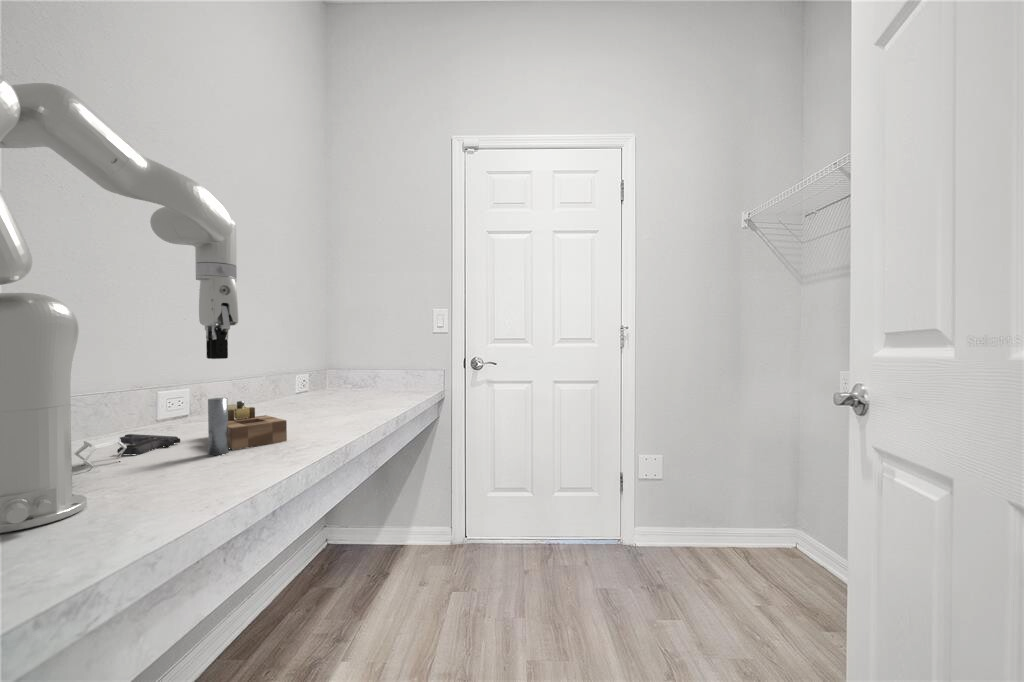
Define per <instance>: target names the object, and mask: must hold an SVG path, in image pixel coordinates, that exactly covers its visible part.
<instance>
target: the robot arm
mask: <svg viewBox="0 0 1024 682" xmlns="http://www.w3.org/2000/svg"><path fill="white" fill-rule="evenodd" d="M43 147H45V148H49V149H50V150H52V151H53V152H54V153H56V154H57V155H58V156H60V157H61V158H62V159H64V160H65V161H67V162H68V163H69V164H71V166H73V167H75V168H76V169H77V170H79V172H81V173H83V174H84V175H86V177H88V178H89V179H90V180H92V181H93V182H94V183H96V185H98V186H99V187H100V188H102V189H104V190H106V191H107V192H109V193H110V192H111V193H113V194H117V195H119V196H123V197H125V198H129V199H133V200H140V201H145V202H147V203H153V204H156V205H160V206H163V207H160V208H157V209H155V211H154V212H153V213H152V214H151V217H150V221H149V222H150V228H151V230H152V231H153V233H154V234H155V235H156V236H157V237H158V238H159V239H161V240H162V241H164V242H166V243H169V244H172V245H180V246H181V245H182V246H193V247H194V248H195V249H194V250H195V251H194V252H195V255H194V256H195V258H194V259H195V262H194V263H195V280H196V281H200V282H199V292H198V293H199V294H198V297H199V298H198V322H199V323H200V325H202V326H204V331H205V339H206V340H205V341H206V346H205V347H206V359H211V360H217V359H218V360H219V359H220V360H223V359H228V358H229V348H228V346H229V343H228V342H229V341H228V340H229V331H230V329H231V326H236V325H238V323H239V305H238V291H237V287H236V282H238V281H237V280H238V279H237V275H238V273H237V271H238V268H237V224H236V222H235V221H234V220H233V219H232V217H231V216H230V213H229V212H228V211H227V209H226V208H225V207H224V206H223V204H222V203H221V202H220V201H219V200H218V199H217V198H216V197H215V196H214V195H213V194H212V193H211V192H210V191H208V189H206V188H205V187H204V186H203V185H201V184H200V183H198V182H197V181H195V180H194V179H192V178H190V177H188V176H186V175H184V174H182V173H180V172H178V171H176V170H173V169H172V168H169V167H168V166H166V165H164V164H161V163H159V162H157V161H155V160H152V159H150V158H148V157H146V156H145V155H144V154H142V153H141V152H139V151H138V150H137V149H136V148H135V147H134V146H133V145H132V144H131V143H130V142H129V141H127V140H126V139H125V138H124V137H123V136H122V135H120V133H119V132H117V130H115V129H114V128H113V127H112V126H111V125H110V124H108V122H107V121H105V119H103V117H102V116H100V115H99V114H98V113H97V112H96V111H95V110H93V109H92V108H91V107H90V106H89V105H88V104H87V103H85V101H83V99H81V98H80V97H79V96H77V95H76V94H75V93H74V92H72V91H71V90H69V89H67V88H65V87H63V86H60V85H59V84H58V85H57V84H53V83H48V82H31V83H20V84H18V83H17V84H11V83H10V82H9V81H8V80H7V79H6V78H5V77H4V76H3V75H1V74H0V149H32V148H43ZM32 267H33V256H32V253H31V251H30V248H29V246H28V243H27V241H26V239H25V236H24V235H23V233H22V231H21V229H20V226H19V224H18V223H17V220H16V218H15V216H14V214H13V212H12V210H11V207H10V205H9V203H8V201H7V200H6V197H5V195H4V193H3V190H2V188H1V187H0V286H3V285H9V284H13V283H15V282H18V281H20V280H22V279H24V278H25V277H26V276H27V275H28V274H30V272H31V270H32ZM79 329H80V328H79V322H78V319H77V317H76V315H75V313H74V311H72V309H71V308H70V307H69V306H68V305H66V304H65V303H64V302H62V301H61V300H59V299H57V298H55V297H52V296H49V295H44V294H40V293H33V292H0V534H2V533H3V534H4V533H10V532H14V531H15V532H16V531H21V530H26V529H30V528H35V527H38V526H39V527H40V526H42V525H46V524H50V523H53V522H56V521H60V520H62V519H66V518H68V517H71V516H74V515H75V514H77V513H79V512H81V511H82V510H84V509H85V507H87V505H88V499H87V497H86V496H84V495H82V494H76V493H75V494H74V493H73V465H72V463H73V462H72V461H73V460H72V456H73V455H72V417H71V415H72V410H71V407H72V406H71V405H72V404H71V380H72V376H71V375H72V368H73V367H72V366H73V360H74V357H75V356H74V355H75V351H76V349H77V344H78V339H79V332H80V331H79Z"/></svg>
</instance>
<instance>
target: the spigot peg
mask: <svg viewBox="0 0 1024 682" xmlns="http://www.w3.org/2000/svg"><path fill="white" fill-rule="evenodd" d="M228 401H229V400H228V397H215V398H214V397H213V398H208V399H207V416H208V417H207V419H208V420H207V422H208V425H207V426H208V428H207V430H208V433H207V435H208V456H209V455H220V456H223V455H222V454H225V455H227V454H226V453H228V454H229V449H228V405H229V402H228Z"/></svg>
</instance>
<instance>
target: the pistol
mask: <svg viewBox="0 0 1024 682" xmlns="http://www.w3.org/2000/svg"><path fill="white" fill-rule="evenodd" d="M119 438H120V439H121V441H124V442H123V443H129V442H131V443H129V444H126V445H125V446H126V447H127V448H126V449H125V451H124V452H123V453H122V454H138V455H141V454H144V453H147V452H150V451H153V450H155V448H157V449H159V448H158V447H162V448H164V447H163V446H168V447H171V446H175V445H174V443H177V444H180V443H181V438H180V437H178V436H175V435H174V436H171V435H153V434H137V433H136V434H135V433H127V434H125V435H123V436H121V437H119ZM152 449H153V450H152ZM121 450H123V448H122V447H121V446H120V447H119V448H118V449H117V451H116V452H117V454H118V453H119V452H120V451H121ZM149 450H150V451H149ZM140 453H141V454H140ZM120 454H121V453H120ZM120 454H119V455H120Z"/></svg>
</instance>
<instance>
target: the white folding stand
mask: <svg viewBox="0 0 1024 682" xmlns="http://www.w3.org/2000/svg"><path fill="white" fill-rule="evenodd" d="M118 435H119V434H118ZM118 435H113V436H108V437H102V438H98V439H91V440H86V441H85V440H84V441H83V445H82V446H81V447H80V448H78V450H76V451H75V452H74V453H73V454H74V455H75V456H76V457H78V458H79V459H81V460H82V461H83V463H82V464H81V465H83V466H85V465H88V466H89V467H90V468H89V469H87V470H86V471H88V472H90V471H91V470H92V469H94V468H95V466H94V465H93V464H92V463H91V462H90V461H89V459H90V457H92V455H93V454H94V452H95V451H96V450H97V449H101V448H104V447H108V446H111V445H115V444H118V445H119V446H120V447H122V448H123V450H121V451H120V452H119V453H118V452H117V454H115V457H116V458H117V462H119V461H121V458H120V457H121V456H123V455H122V453H123V452H124V451H125V449H126V448H127V447H126V446H127V445H125V444H124V442H121V439H120V437H119V436H118ZM87 448H90V449H91V450H90V451H89V453H88V454H87V456H86V457H85V458H84V457H83V456H82V455H81V454H80V453H82V452H83V451H85V450H86V449H87ZM120 453H121V454H120Z"/></svg>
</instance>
